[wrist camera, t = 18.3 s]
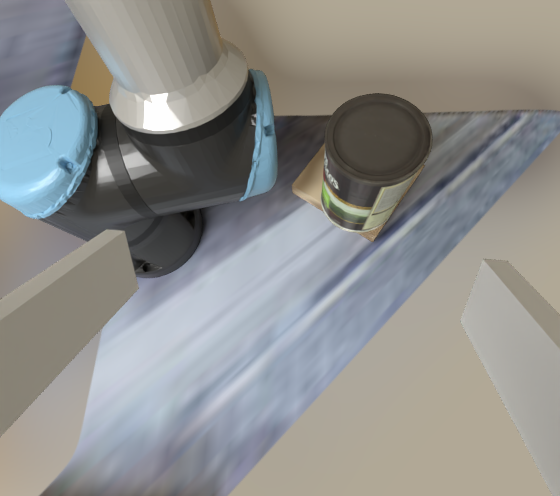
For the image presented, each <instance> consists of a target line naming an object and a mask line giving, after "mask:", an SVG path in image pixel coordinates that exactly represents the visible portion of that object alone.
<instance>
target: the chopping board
mask: <svg viewBox="0 0 560 496" xmlns="http://www.w3.org/2000/svg"><path fill="white" fill-rule="evenodd" d="M324 155H325V143H324V144H323V146H322V147H321V148H320V149H319V151H318V152H317V153H316V155H315V156H314V157H313V158H312V160H311V161H310V162H309V164H308V165H307V166H306V167H305V169H304V170H303V171H302V173H301V174H300V175H299V176H298V178H297V179H296V180H295V182H294V183H293V184H292V190H293V193H294V194H296V195H297V196H299V197H300V198H302V199H304V200H305V201H307V202H308V203H310V204H312V205H313V206H315V207H317V208H318V209H320V210H321V211H323V209H322V206H321V192H322V183H323V169H324ZM424 166H425V165H424V164H423V166H422V167H421V168H420V169H419V170H418V172H417V173H416V175H415V176H414V178H413V180H412V181H411V183H410V184H409V186H408V187H407V189H406V191H405V192H404V194H403V195H402V197H401V198H400V200H399V202H398V203H397V205H396V206H395V208H394V210H395V209H396V207H397V206H398V205H399V203H400V202H401V200H402V199H403V197H404V196H405V194H406V193H407V191H408V190H409V189H410V187H411V186H412V184H413V183H414V181H415V180H416V178H417V177H418V175H419V174H420V172H421V171H422V169H423V168H424ZM394 210H393V211H392V213H393V212H394ZM323 212H324V211H323ZM391 215H392V214H391ZM391 215H390V216H391ZM389 218H390V217H389ZM387 221H388V220H387ZM387 221H386V222H387ZM386 222H385V223H386ZM385 223H384V224H383V225H381V226H380V227H378V228H376V229H374V230H372V231H368V232H362V233H359V234H360V235H362V236H363V237H365V238H367V239H368V240H370V241H372V242H373V241H374V239H375V238H376V237H377V235H378V234H379V232H380V231H381V229H382V228H383V226H384V225H385Z"/></svg>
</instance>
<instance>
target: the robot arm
mask: <svg viewBox="0 0 560 496" xmlns="http://www.w3.org/2000/svg"><path fill="white" fill-rule="evenodd" d="M65 2H66V4H67V5H68V7H69V8H70V10H71V11H72V13H73V14H74V16H75V18H76V19H77V21H78V22H79V24H80V25H81V27H82V29H83V30H84V32H85V33H86V35H87V36H88V38H89V39H90V41H91V43H92V44H93V46H94V47H95V49H96V50H97V52H98V53H99V55H100V57H101V58H102V60H103V61H104V63H105V64H106V66H107V68H108V69H109V71H110V72H111V74H112V75H113V77H114V79H113V82H112V86H111V89H110V95H109V102H110V104H106V105H102V106H93V104H92V102H91V101H90V100H89V98H88V97H87V96H85V95H83V94H80V93H79V92H78V91H75V90H72V89H71V88H69V87H67V86H62V85H51V86H44V87H41V88H38V89H35V90H33V91H31V92H29V93H27V94H25V95H23V96H22V97H20V98H19V99H18V100H16V101H15V102H14V103H13V104H11V105H10V106H9V107H8V108H7V109H6V110H5V111H4V112H3V114H2V115H1V117H0V199H1V200H2V201H3V202H5V203H7V204H9V205H11V206H12V207H14V208H16V209H18V210H20V211H21V212H22V213H23V214H24V215H25V216H27V217H30V218H33V219H35V218H36V219H38V220H41V221H43V222H45V223H47V224H49V225H52V226H54V227H56V228H58V229H61V230H63V231H65V232H67V233H69V234H72V235H74V236H76V237H78V238H81V239H83V240H85V241H87V243H85V244H84V245H82V246H81V247H79V248H78V249H76V250H75V251H73V252H72V253H70V254H68V255H67V256H65V257H64V258H62V259H61V260H60V261H58V262H56V263H55V264H53V265H52V266H50V267H49V268H47V269H46V270H44V271H43V272H41V273H40V274H38V275H37V276H35V277H33V278H32V279H31V280H29V281H27V282H26V283H25V284H23V285H22V286H20V287H19V288H17V289H15V290H14V291H12V292H11V293H9V294H8V295H6V296H5V297H3V298H1V299H0V437H1V436H2V435H3V434H4V433H5V432H6V430H7V429H8V428H9V427H10V426H11V425H12V424H13V423H14V422H15V421H16V420H17V419H18V418H19V417H20V415H21V414H22V413H23V412H24V411H25V410H26V409H27V408H28V407H29V406H30V405H31V404H32V403H33V401H34V400H35V399H36V398H37V397H38V396H39V395H40V394H41V393H42V392H43V391H44V390H45V389H46V388H47V387H48V385H49V384H50V383H51V382H52V381H53V380H54V379H55V378H56V377H57V376H58V375H59V374H60V373H61V372H62V370H63V369H64V368H65V367H66V366H67V365H68V364H69V363H70V362H71V361H72V359H74V358H75V356H76V355H77V354H78V353H79V352H80V351H81V350H82V349H83V348H84V347H85V346H86V345H87V344H88V343H89V341H90V340H91V339H92V338H93V337H94V336H95V335H96V334H97V333H98V332H99V331H100V330H101V329H102V327H103V326H104V325H105V324H106V323H107V322H108V321H109V320H110V319H111V318H112V317H113V316H114V315H115V314H116V312H117V311H118V310H119V309H120V308H121V307H122V306H123V305H124V304H125V303H126V302H127V301H128V300H129V299H130V297H131V296H132V295H133V294H134V293H135V292H136V291H137V290H138V289H139V287H138V283H137V279H136V277H140V278H155V277H160V276H163V275H166V274H168V273H171V272H173V271H174V270H176V269H177V268H179V267H180V266H182V265H183V264H184V263H185V262H186V261H187V260H188V259H189V258H190V257H191V255H192V254H193V252H194V251H195V249H196V247H197V245H198V243H199V240H200V237H201V233H202V217H201V213H200V210H199V208H204V207H210V206H215V205H220V204H225V203H230V202H235V201H243V200H245V199H246V198H248V197H252V196H255V195H259V194H262V193H265V192H268V191H269V190H270V189H271V188H272V187H273V186H274V184H275V182H276V178H277V168H278V161H277V143H276V135H275V131H274V128H275V126H274V113H273V106H272V100H271V94H270V89H269V84H268V81H267V78H266V75H265V74H264V73H263V72H262V71H260V70H253V69H249V70H248V65H247V61H246V58H245V56H244V55H243V53H242V51H241V50H240V49H239V48H238V47H236V46H235V45H234V44H232V43H231V42H229V41H227V40H225V39H223V38H221V36H220V33H219V30H218V26H217V22H216V19H215V15H214V12H213V8H212V4H211V1H210V0H65ZM460 322H461V324H462V326H463V328H464V330H465V332H466V334H467V336H468V337H469V339H470V341H471V343H472V345H473V347H474V349H475V351H476V352H477V354H478V356H479V358H480V360H481V362H482V364H483V366H484V367H485V369H486V371H487V373H488V375H489V377H490V379H491V381H492V382H493V384H494V386H495V388H496V390H497V392H498V394H499V396H500V398H501V399H502V401H503V403H504V405H505V407H506V409H507V411H508V413H509V415H510V416H511V418H512V420H513V422H514V424H515V426H516V428H517V429H518V431H519V433H520V435H521V437H522V439H523V441H524V443H525V445H526V447H527V449H528V450H529V452H530V454H531V456H532V458H533V460H534V462H535V463H536V465H537V467H538V469H539V471H540V473H541V475H542V477H543V479H544V480H545V482H546V484H547V486H548V488H549V490H550V492H551V494H552V496H560V315H559V313H558V312H557V311H556V310H555V309H554V308H553V307H552V306H551V305H550V304H549V303H548V302H547V301H546V300H545V299H544V298H543V297H542V296H541V295H540V294H539V293H538V292H537V291H536V290H535V289H534V288H533V287H532V286H531V285H530V284H529V283H528V282H527V281H526V280H525V278H524V277H523V276H522V275H521V274H519V272H518V271H517V270H516V269H515V268H514V267H513V266H512V265H511V264H510V263H509V262H508V261H503V260H491V259H483V260H482V263H481V266H480V269H479V271H478V274H477V277H476V279H475V282H474V285H473V287H472V290H471V293H470V296H469V299H468V301H467V304H466V306H465V309H464V312H463V315H462V317H461V320H460Z"/></svg>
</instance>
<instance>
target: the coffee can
mask: <svg viewBox="0 0 560 496" xmlns="http://www.w3.org/2000/svg"><path fill="white" fill-rule="evenodd" d="M432 141H433V139H432V130H431V127H430V124H429V122H428V120H427V119H426V117H425V116H424V114H423V113H422V112H421V111H420V110H419V109H418V108H417V107H416V106H414V105H413V104H411V103H410V102H408V101H406V100H404V99H402V98H400V97H397V96H394V95H389V94H379V93H375V94H367V95H362V96H359V97H356V98H353V99H351V100H349V101H347V102H345V103H344V104H342V105H341V106H340V107H339V108H338V109H337V110H336V111H335V112H334V113H333V115H332V116H331V117H330V119H329V121H328V123H327V126H326V130H325V155H324V169H323V183H322V192H321V206H322V209H323V211H324V213H325V215H326V216H327V218H328V219H329V220H330V221H331V222H332V223H333V224H334V225H335V226H337V227H339V228H341V229H343V230H346V231H349V232H356V233H362V232H368V231H372V230H374V229H376V228H378V227H380V226H381V225H383V224H384V223H385V222H386V221H387V220H388V219H389V217H390V215H391V214H392V211H393V210H394V208H395V206H396V205H397V203H398V202H399V200H400V198H401V197H402V195H403V194H404V192H405V191H406V189H407V187H408V186H409V184H410V183H411V181H412V180H413V178H414V176H415V175H416V173H417V172H418V170H419V169H420V168H421V167H422V166H423V164H424V163H425V162H426V160H427V158H428V156H429V154H430V152H431V148H432Z"/></svg>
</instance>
